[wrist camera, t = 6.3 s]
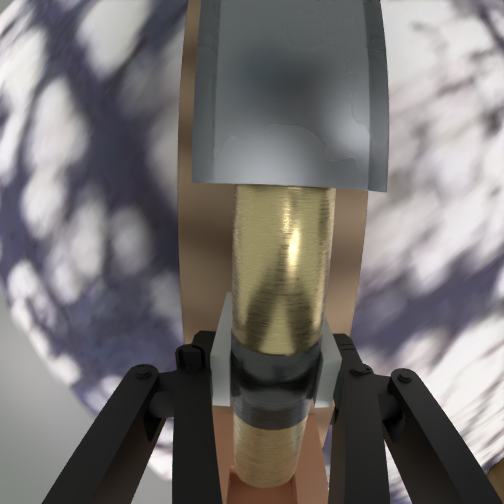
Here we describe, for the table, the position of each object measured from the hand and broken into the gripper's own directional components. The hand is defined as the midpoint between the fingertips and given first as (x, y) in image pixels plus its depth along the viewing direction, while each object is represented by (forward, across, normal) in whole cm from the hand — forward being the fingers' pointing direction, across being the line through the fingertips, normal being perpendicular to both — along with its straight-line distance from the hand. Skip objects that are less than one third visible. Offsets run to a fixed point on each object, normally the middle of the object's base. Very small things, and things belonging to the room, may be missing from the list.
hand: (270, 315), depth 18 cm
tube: (-4, 0, +6) cm, 7 cm away
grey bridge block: (+3, 0, +15) cm, 15 cm away
